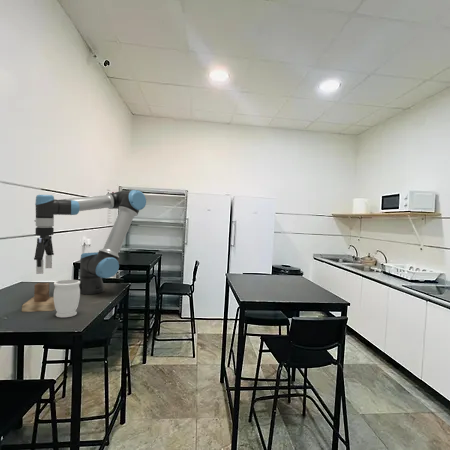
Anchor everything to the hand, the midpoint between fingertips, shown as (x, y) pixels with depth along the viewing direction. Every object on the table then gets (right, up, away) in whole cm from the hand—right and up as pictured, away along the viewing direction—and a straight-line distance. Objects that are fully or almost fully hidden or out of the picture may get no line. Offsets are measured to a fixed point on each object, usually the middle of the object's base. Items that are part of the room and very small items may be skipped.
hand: (44, 270), depth 147 cm
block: (-1, -14, 0) cm, 14 cm away
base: (-1, -17, 0) cm, 17 cm away
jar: (+16, -19, -10) cm, 26 cm away
